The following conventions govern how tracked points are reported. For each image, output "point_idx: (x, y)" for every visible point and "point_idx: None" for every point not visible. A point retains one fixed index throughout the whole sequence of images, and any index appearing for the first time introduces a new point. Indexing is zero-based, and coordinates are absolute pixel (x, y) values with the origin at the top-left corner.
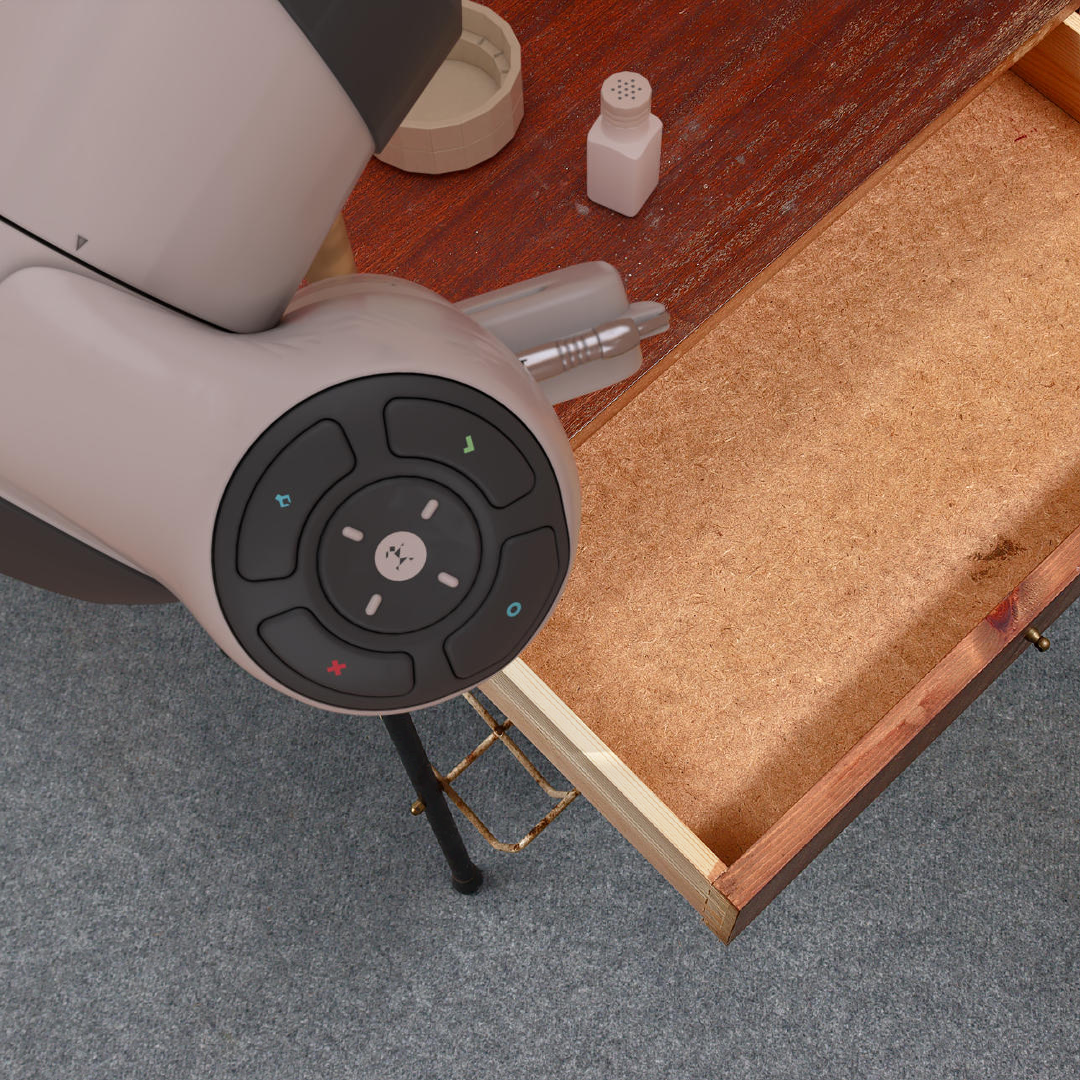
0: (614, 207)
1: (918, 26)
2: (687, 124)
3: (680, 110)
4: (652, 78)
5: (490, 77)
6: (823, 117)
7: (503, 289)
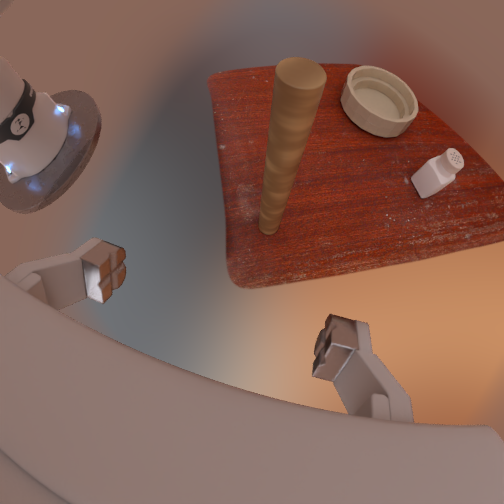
0: (418, 189)
1: None
2: None
3: None
4: None
5: (398, 111)
6: (489, 212)
7: (423, 464)
